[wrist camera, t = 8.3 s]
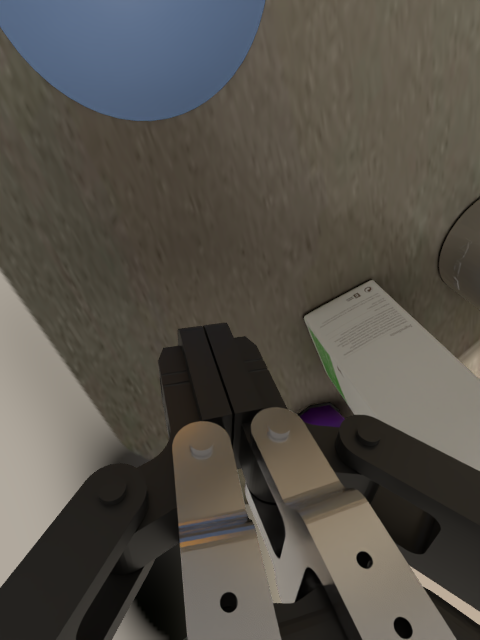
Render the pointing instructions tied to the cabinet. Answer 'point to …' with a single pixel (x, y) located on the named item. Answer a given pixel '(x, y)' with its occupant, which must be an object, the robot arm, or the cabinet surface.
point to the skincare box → (398, 371)
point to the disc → (134, 50)
